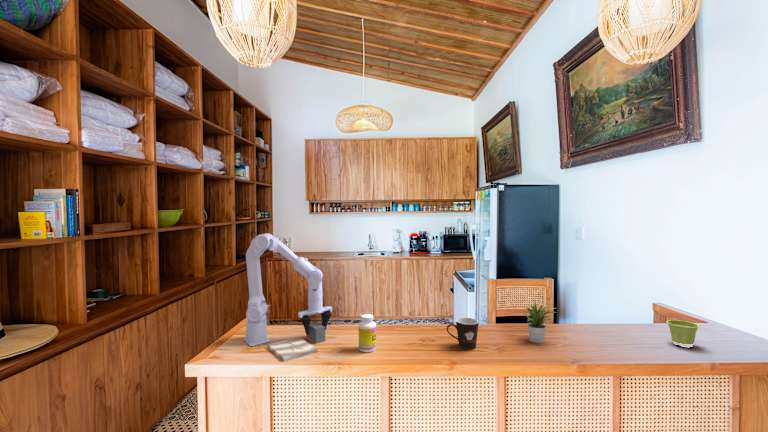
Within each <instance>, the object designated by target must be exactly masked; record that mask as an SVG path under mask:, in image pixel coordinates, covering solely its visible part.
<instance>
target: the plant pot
mask: <svg viewBox="0 0 768 432" xmlns="http://www.w3.org/2000/svg"><path fill="white" fill-rule="evenodd" d="M666 323H667V324H668V327H669V332H670V336H671V342H672V341H674V342H677V343H682V344H693V343H694V344H695V340H696V334H697V331H698V328H699V327H700V325H699V324H697V323H694V322H691V321H686V320H679V319H668V320H666Z"/></svg>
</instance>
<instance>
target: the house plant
mask: <svg viewBox="0 0 768 432" xmlns="http://www.w3.org/2000/svg"><path fill="white" fill-rule="evenodd" d="M544 304H545V302H542V303H541V305H540V306H539V308H538V306H537V303H536V300H535V299H534V301H531V304H529V306H530V307H531V308H530V307H528V306H527V305H526V304H524V306H525V309H526V311H527V313H528V314H529V315H528V314H526V313H523V312H522V313H521V315H522V316H525V317H526V318H527V322H526V323H527V324H526V326H527V330H528V337H529V341H530V342H531V343H535V344H543V343H544V341H545V337H546V336H545V335H546V331H547V326H546V325H545V324H543V323H544V322H546V323H548V324H550V321H549V320H552V321H553V320H554V319H553V318H552V316H548V314H554V313H555V314H556V313H557V311H554V309H557V307H555V308H554V307H553V308H548V309H547V307H549V305H550V303H549V304H546V305H544Z"/></svg>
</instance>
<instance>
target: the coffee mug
mask: <svg viewBox="0 0 768 432" xmlns="http://www.w3.org/2000/svg"><path fill="white" fill-rule="evenodd" d="M455 323H456V324H454V323H450V324H448V325H447V326H446V331H447V333H448V335H450V336H451V337H453V338H454V339H456V340H457V342H458V347H459V348H460V349H461V350H466V351H470V350H475V349H476V347H477V340H478V331H479V323H480V321H479V320H478V319H476V318H472V317H459V318H456V319H455ZM451 326H453V327H455V329H456V334H457V336H455V335H453V334H452V333H451V332H450V331H449V327H451Z"/></svg>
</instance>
